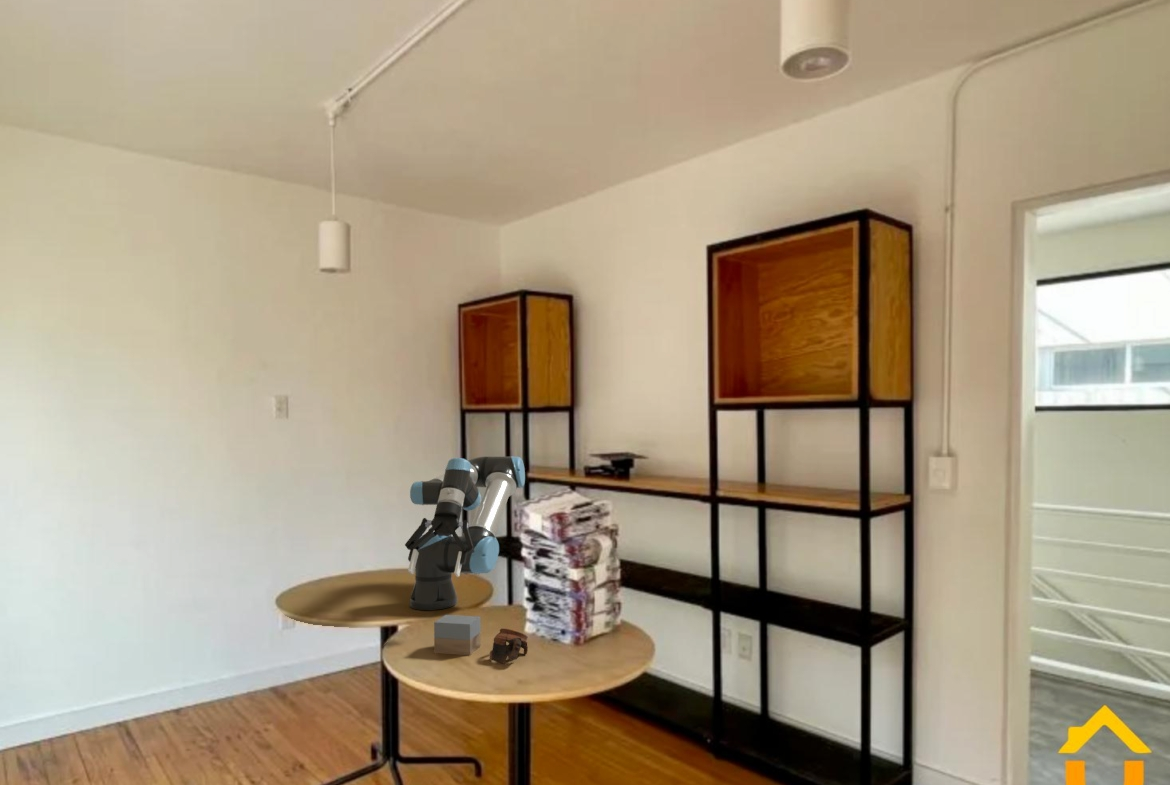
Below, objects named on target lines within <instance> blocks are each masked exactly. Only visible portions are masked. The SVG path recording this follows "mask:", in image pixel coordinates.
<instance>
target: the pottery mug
mask: <svg viewBox="0 0 1170 785" xmlns="http://www.w3.org/2000/svg"><path fill="white" fill-rule="evenodd" d="M527 639H528V636H527V635H526V634H524V633H522V632H520V631H518V630H515V629H510V628H500V629H499V633H497V634H496V635H495V637H494V638H493V643H492V650H490V652H489V659H488V660H490V661H494V662H497V663H500V664H506V663H507V659H509V660H510V661H516V660H517V659H518V657H519V653H520V651H521V649H523V654H524V655H527V654H528V651H529V650H528V648H529V647H528V642H527ZM507 643H508V644H507Z"/></svg>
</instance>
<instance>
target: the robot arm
mask: <svg viewBox="0 0 1170 785" xmlns="http://www.w3.org/2000/svg"><path fill="white" fill-rule="evenodd" d="M525 470H526V468H525V465H524V461H523V459H522V458H521V457H520V456H512V455H511V456H479V457H475V458H471V459H466V458H461V457H452V458H451V459H449V460H448V461H447V465H446V467H445V470H444V473H443V474H441V475H439V476H436V477H435V478H433V479H430V480H426V481H423V480H421V481H415V482H413V483H412V484H411V487H410V489H409V490H410V491H409V496H410V497H409V498H410V501H411V502H412V503H413V504H414V505H419V506H428V505H429V506H434V505H435V506H436V507H435V512H434V516H433V518H432V520H429V519H427V518H426V517H423V518H422V520H421V523H420V525H419V526H418V527H417V529H416V530H415V531H414V532H413V534H412V535H411V536H410V538H409V539H407V541H406V542H405V543H404V546H405V547H406V548H407V550H409V554H408V557H407V560H408V562H409V565H408V569H407V571H408V573H409V574H410V575H414V576H415V579H414V580H415V581H414V585H413V587H412V588H413V589H412V592H411V594H410V597H409V598H410V599H409V606H410V608H412V609H414V610H419V611H434V610H435V611H436V610H444V609H448V608H451V607H453V606H456V605H457V603H458V594H457V591H456V589H455V586H454V583H453V579H452V574H454V575H455V577H456V578H460V575H461V574H474V575H480V574H482V575H483V574H489V573H491V571H493V570H494V568H495V567H496V566H497V565H496V564H497V562H498V560H499V553H500V544H499V541H498V539H497V537H496V535H495V534H496V532H497V529H498V526H499V524H500V521H501V518H502V516H503V514H504V511H505V507H506V506H507V504H508V503H507V502H508V499H509V497H511V496H513V495H514V494H515V492H516V491H517V488H518V489H521V488H524V486H525V483H526V482H525V481H526V472H525ZM479 488H486V489H485V491H484V494H483V496H482V495H481V493H480V492H481V491H480V490H479ZM462 509H463V510H465V511H469V512H470V511H473V510H475V509H477V510H476V512H475V515H474V516H473V517H474V518H473V520H472V522H471V525H470V524H469V523H468V520H467V519H464V520H463V521H460V519H461V514H462ZM430 526H431V527H430ZM459 528H460V529H462V531H463V532H462V534H461V535H460V536H458V534H457V532H456V531H457V530H458V529H459ZM427 529H428V531H427ZM426 531H427V532H426Z"/></svg>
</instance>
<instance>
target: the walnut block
mask: <svg viewBox="0 0 1170 785" xmlns="http://www.w3.org/2000/svg"><path fill="white" fill-rule="evenodd" d="M481 638H482V636H481V632H480V633H479V634H477V635H476V636H475V637H474V638H472V639H471V640H460V639H445V638H433V641H434V642H433V643H434V644H433V645H434V649H433V650H434V652H433V653H434V654H444V655H445V654H447V655H461V656H463V655H464V656H471V655H472V654H474V653H475V652H476V651H477V650H478V649H480V646H482V641H481ZM474 651H475V652H474ZM473 652H474V653H473Z"/></svg>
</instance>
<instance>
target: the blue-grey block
mask: <svg viewBox="0 0 1170 785" xmlns="http://www.w3.org/2000/svg"><path fill="white" fill-rule="evenodd" d="M481 620H482V619H481V616H474V615H458V614H445V615H443V616H442V617H440V618H439V619H437V620H436V621H434V624H433V628H434V631H433V632H434V633H433V635H434V636H433V637H434V638H445V639H460V640H471V639H472V638H474V637H475V636H476V635H477V634H479V633H480V632H481V631H482V628H481V627H482V626H481V625H482V624H481V623H482V622H481ZM434 638H433V639H434Z"/></svg>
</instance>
